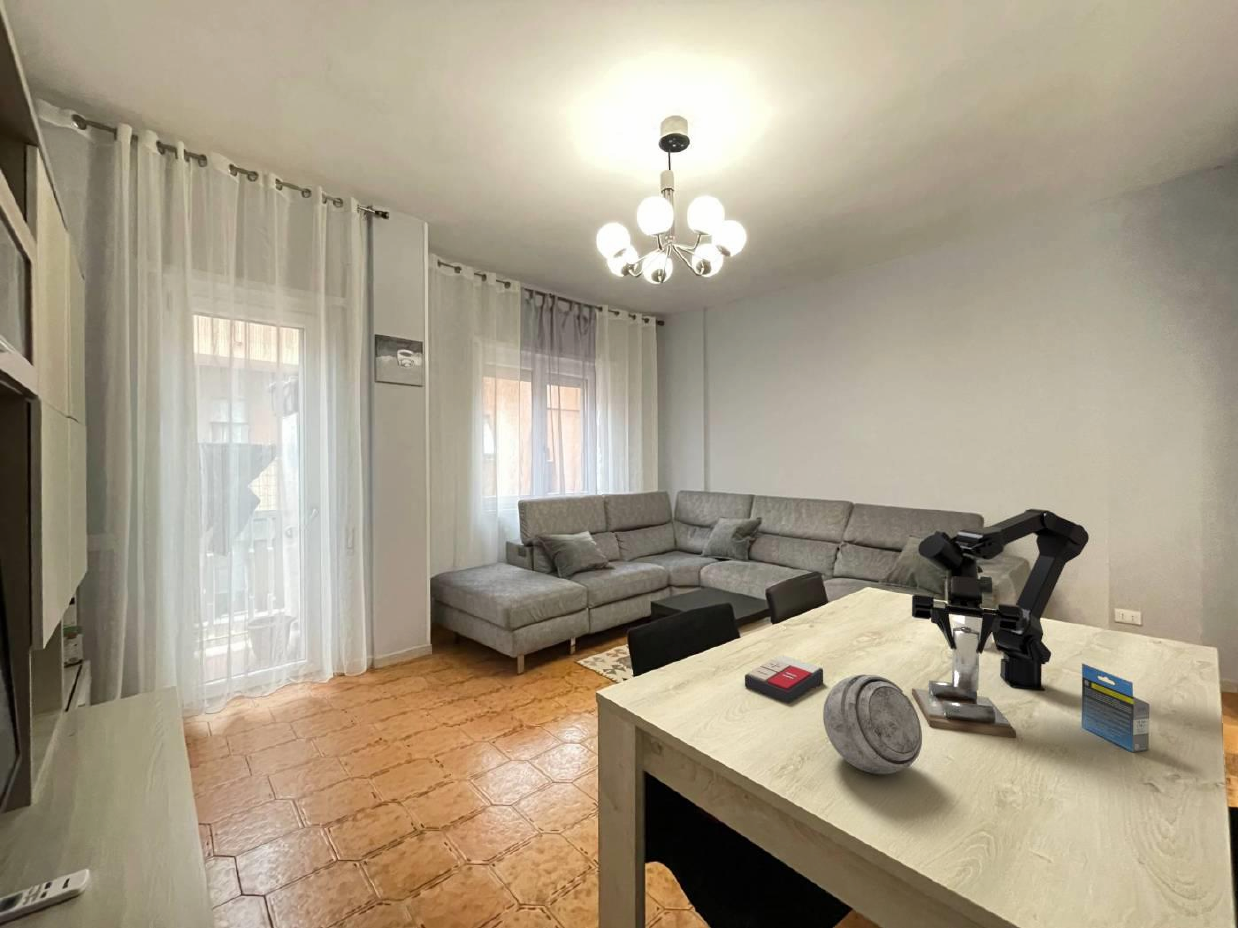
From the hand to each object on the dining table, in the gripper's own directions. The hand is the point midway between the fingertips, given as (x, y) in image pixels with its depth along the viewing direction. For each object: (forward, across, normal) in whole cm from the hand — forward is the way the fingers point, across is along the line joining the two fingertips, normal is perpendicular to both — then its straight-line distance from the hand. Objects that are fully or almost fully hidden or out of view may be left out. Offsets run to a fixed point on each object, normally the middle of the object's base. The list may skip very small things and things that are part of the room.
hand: (966, 650), depth 103 cm
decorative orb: (+28, -15, -8) cm, 33 cm away
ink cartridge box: (+6, +23, +13) cm, 27 cm away
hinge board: (+8, -1, +11) cm, 14 cm away
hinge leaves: (+7, -1, +10) cm, 13 cm away
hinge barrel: (+4, 0, +6) cm, 8 cm away
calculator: (+11, -34, +9) cm, 37 cm away
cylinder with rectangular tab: (-26, +5, +45) cm, 52 cm away
